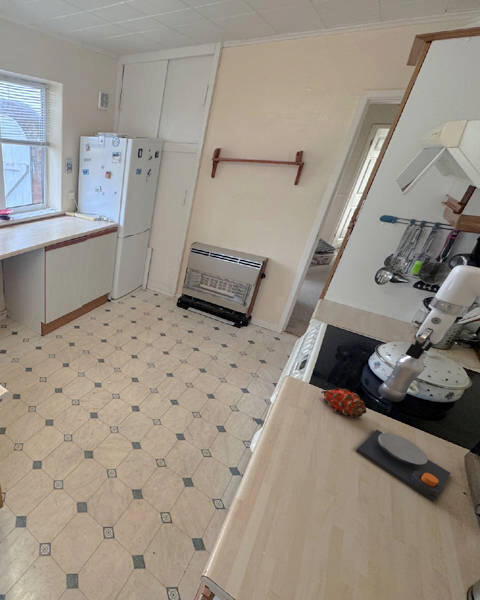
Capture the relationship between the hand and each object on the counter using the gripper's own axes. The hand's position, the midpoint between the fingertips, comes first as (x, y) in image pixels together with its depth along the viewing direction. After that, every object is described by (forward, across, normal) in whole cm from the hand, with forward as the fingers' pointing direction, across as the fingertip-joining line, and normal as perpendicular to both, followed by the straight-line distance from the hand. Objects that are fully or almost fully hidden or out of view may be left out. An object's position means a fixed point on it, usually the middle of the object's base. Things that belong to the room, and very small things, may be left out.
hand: (416, 352), depth 104 cm
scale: (+19, -32, -12) cm, 39 cm away
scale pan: (+16, -30, -11) cm, 36 cm away
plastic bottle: (+19, 0, 0) cm, 19 cm away
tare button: (+16, -36, -18) cm, 44 cm away
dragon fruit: (+20, -24, +6) cm, 31 cm away
